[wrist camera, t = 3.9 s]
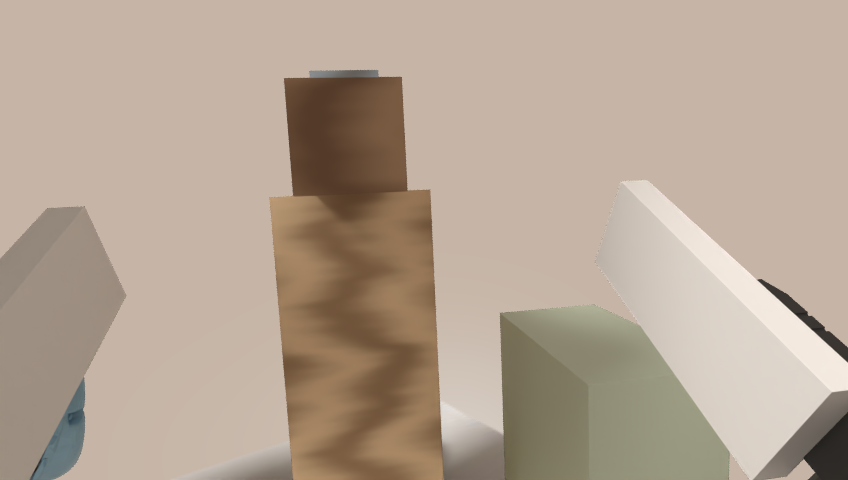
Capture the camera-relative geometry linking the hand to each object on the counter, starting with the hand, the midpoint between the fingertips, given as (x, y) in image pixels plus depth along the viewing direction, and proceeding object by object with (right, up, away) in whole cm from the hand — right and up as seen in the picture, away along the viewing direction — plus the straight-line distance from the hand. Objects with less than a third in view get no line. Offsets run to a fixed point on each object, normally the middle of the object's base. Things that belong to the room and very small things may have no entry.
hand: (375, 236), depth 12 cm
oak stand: (-2, -27, +23) cm, 35 cm away
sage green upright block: (+13, -26, +21) cm, 36 cm away
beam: (-3, +3, +16) cm, 17 cm away
